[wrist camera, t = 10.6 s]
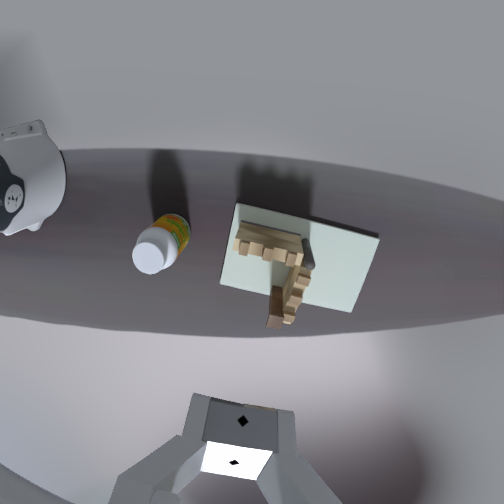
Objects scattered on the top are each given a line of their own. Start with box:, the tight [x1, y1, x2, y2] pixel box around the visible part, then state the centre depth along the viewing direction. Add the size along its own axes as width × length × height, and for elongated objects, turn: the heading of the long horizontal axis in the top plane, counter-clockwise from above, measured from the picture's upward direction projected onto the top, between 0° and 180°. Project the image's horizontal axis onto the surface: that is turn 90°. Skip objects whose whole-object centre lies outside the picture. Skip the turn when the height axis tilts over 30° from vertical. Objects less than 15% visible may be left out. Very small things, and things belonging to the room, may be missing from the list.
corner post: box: [266, 285, 284, 330], centre depth 41 cm, size 2×2×8 cm
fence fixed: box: [232, 222, 316, 270], centre depth 39 cm, size 10×2×7 cm, turn 78°
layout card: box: [220, 203, 379, 312], centre depth 44 cm, size 20×12×1 cm, turn 78°
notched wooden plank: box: [282, 258, 313, 324], centre depth 40 cm, size 8×2×7 cm, turn 164°
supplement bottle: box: [132, 214, 191, 274], centre depth 39 cm, size 5×5×10 cm
